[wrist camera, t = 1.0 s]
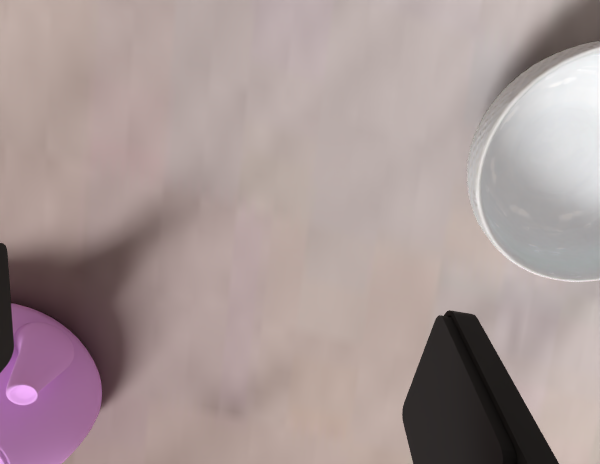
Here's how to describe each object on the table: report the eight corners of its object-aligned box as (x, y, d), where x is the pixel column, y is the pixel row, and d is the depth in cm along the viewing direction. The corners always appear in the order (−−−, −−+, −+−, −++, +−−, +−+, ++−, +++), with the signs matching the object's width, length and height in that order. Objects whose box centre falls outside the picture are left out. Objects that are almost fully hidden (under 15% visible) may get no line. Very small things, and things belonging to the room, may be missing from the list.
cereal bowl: (699, 42, 35) (789, 48, 29) (623, 247, 42) (683, 288, 36) (470, 27, 35) (510, 30, 28) (431, 237, 42) (455, 278, 35)
